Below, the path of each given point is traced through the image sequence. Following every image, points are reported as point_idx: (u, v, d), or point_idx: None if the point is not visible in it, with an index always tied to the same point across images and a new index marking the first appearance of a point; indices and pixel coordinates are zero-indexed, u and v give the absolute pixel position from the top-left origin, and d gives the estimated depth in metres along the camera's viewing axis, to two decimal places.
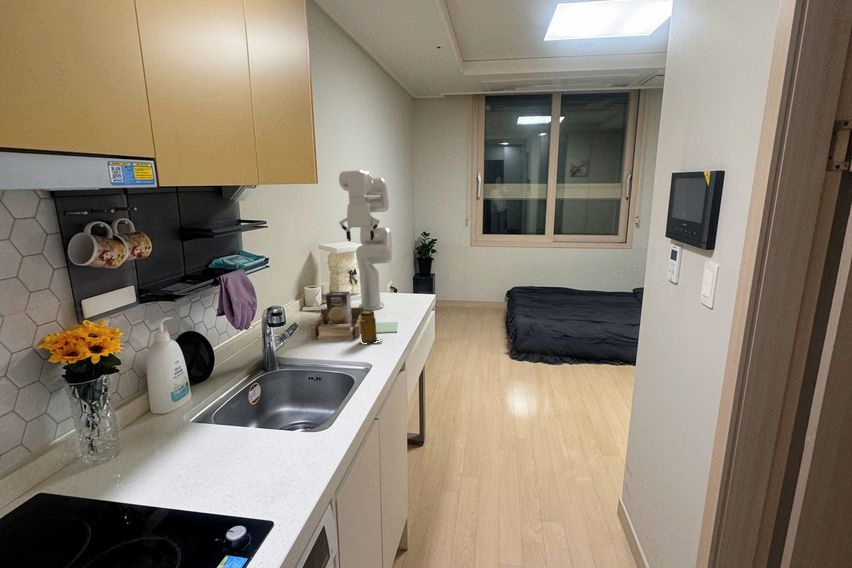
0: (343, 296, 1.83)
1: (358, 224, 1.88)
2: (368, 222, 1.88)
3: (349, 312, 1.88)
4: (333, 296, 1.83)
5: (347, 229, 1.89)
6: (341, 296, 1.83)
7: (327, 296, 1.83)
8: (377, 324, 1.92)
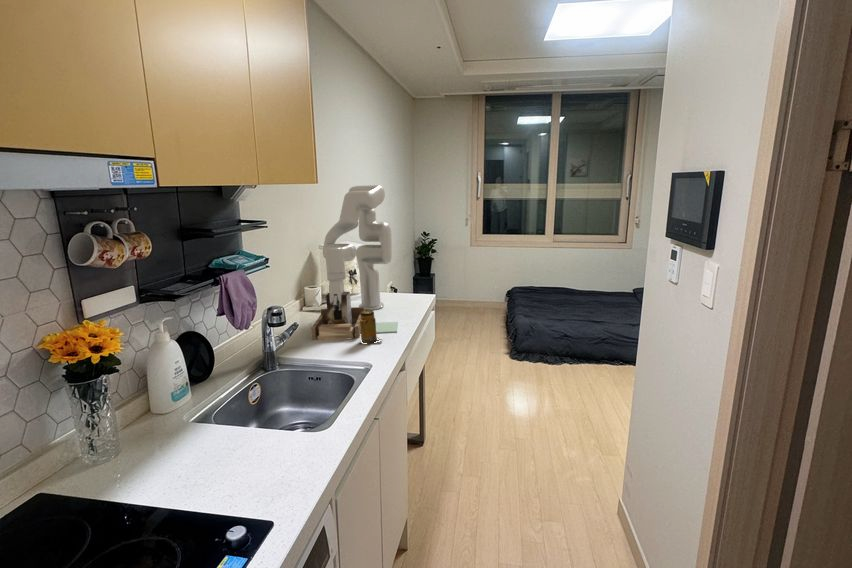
0: (343, 296, 1.83)
1: None
2: None
3: (349, 311, 1.88)
4: None
5: (340, 307, 1.83)
6: None
7: (327, 296, 1.83)
8: (377, 324, 1.92)
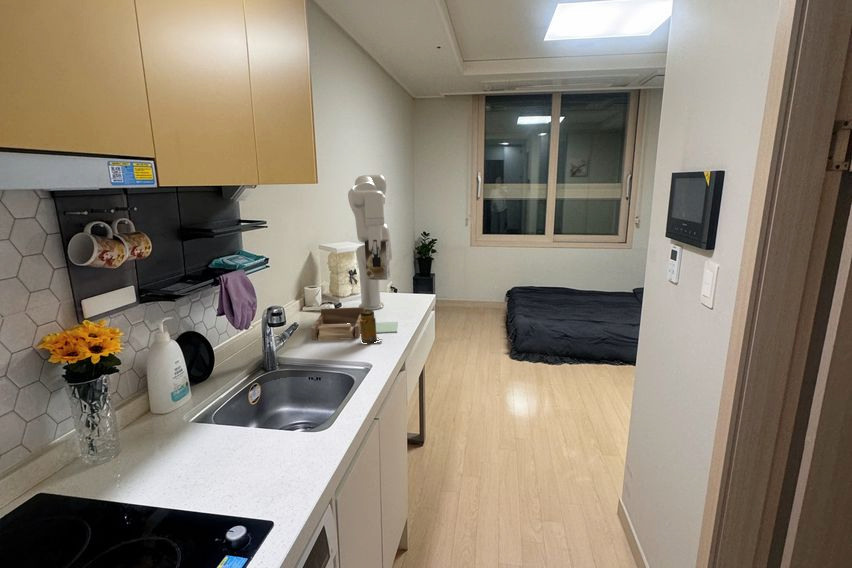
0: (382, 242, 1.77)
1: None
2: None
3: (388, 260, 1.82)
4: None
5: (379, 254, 1.77)
6: None
7: (366, 242, 1.78)
8: (377, 324, 1.92)
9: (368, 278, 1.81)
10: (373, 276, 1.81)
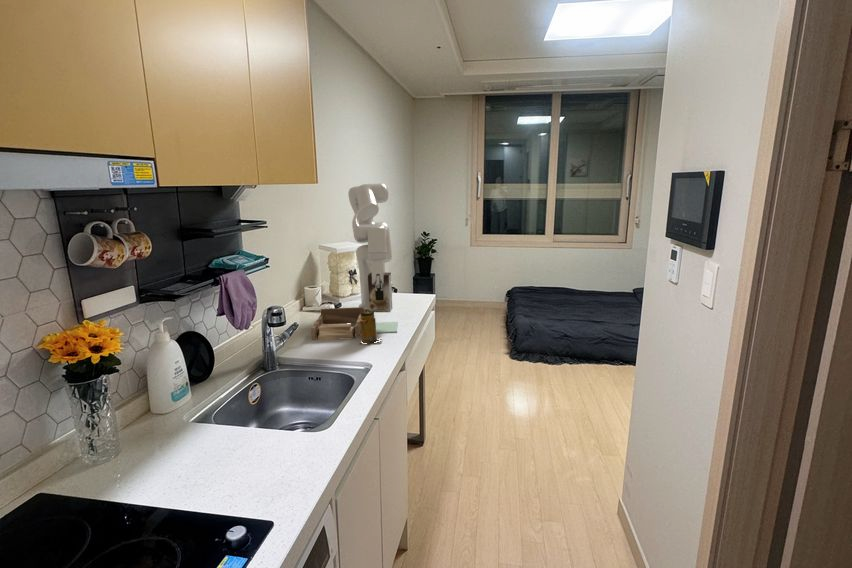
0: (385, 276, 1.80)
1: None
2: None
3: (390, 292, 1.85)
4: None
5: None
6: None
7: (369, 276, 1.81)
8: (377, 324, 1.92)
9: None
10: (376, 309, 1.84)
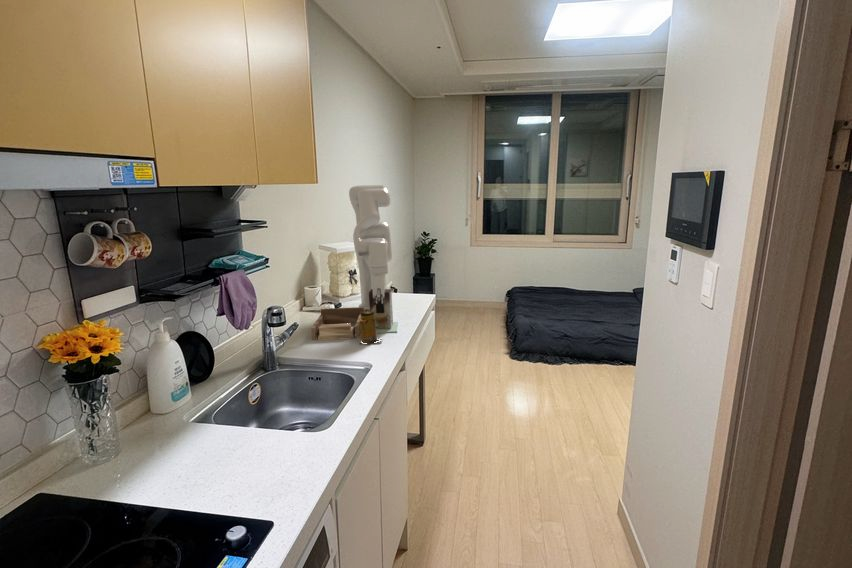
0: (386, 293, 1.82)
1: None
2: None
3: (391, 309, 1.87)
4: None
5: (382, 301, 1.81)
6: None
7: (370, 293, 1.83)
8: None
9: None
10: (377, 325, 1.86)
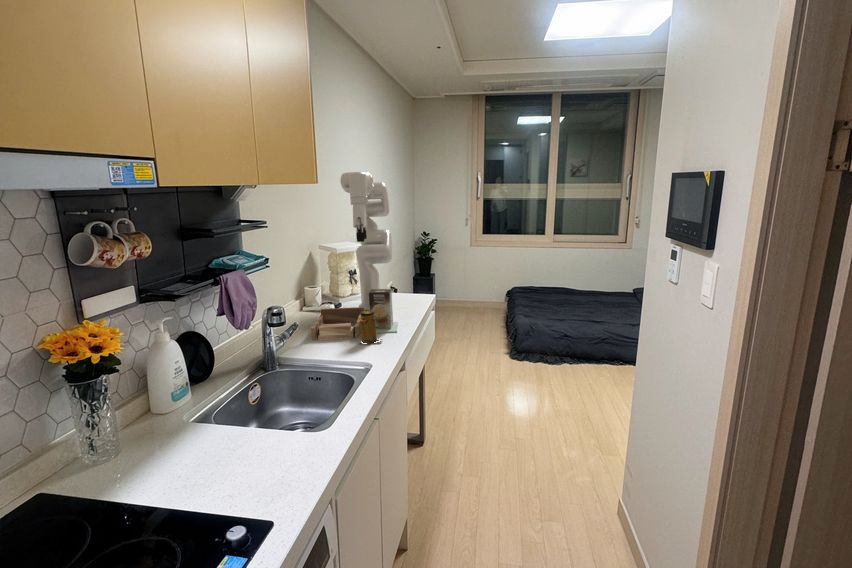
0: (386, 293, 1.82)
1: (365, 224, 1.93)
2: None
3: (391, 309, 1.87)
4: (376, 293, 1.83)
5: (362, 229, 1.89)
6: (384, 293, 1.82)
7: (370, 293, 1.83)
8: None
9: None
10: (377, 325, 1.86)
